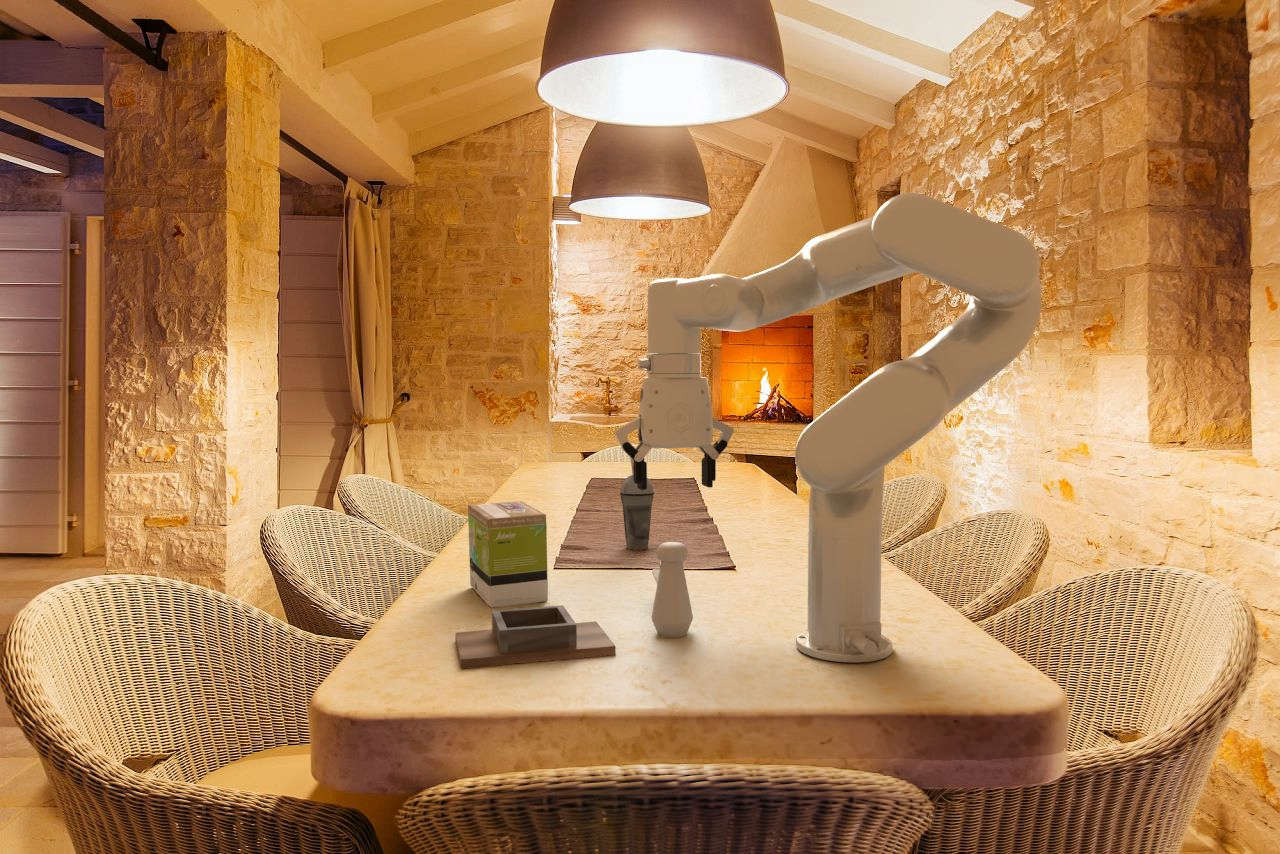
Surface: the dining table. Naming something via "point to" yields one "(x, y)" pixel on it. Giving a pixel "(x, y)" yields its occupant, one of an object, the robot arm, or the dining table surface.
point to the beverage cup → (636, 512)
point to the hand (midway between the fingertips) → (674, 487)
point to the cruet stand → (532, 638)
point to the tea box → (508, 553)
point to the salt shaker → (672, 593)
